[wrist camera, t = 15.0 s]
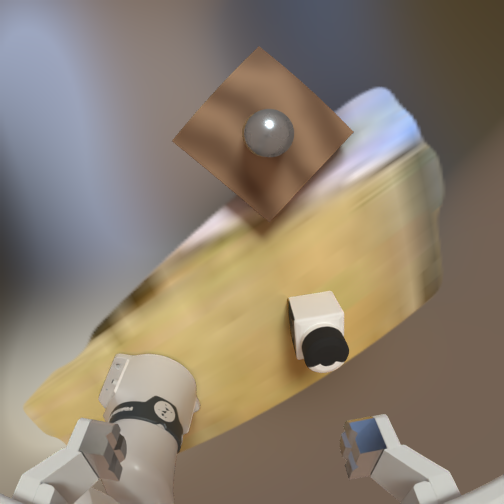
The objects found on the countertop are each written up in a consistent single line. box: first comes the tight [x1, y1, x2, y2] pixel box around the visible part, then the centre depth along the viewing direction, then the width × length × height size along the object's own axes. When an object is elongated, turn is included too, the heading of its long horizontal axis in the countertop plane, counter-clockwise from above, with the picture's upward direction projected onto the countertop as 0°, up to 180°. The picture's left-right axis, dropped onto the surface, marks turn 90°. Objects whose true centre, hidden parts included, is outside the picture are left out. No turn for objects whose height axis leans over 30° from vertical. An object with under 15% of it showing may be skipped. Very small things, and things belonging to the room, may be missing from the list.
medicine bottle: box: [288, 291, 349, 373], centre depth 45 cm, size 7×7×12 cm
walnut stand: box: [173, 47, 353, 222], centre depth 39 cm, size 16×16×4 cm
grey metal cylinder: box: [242, 109, 294, 157], centre depth 34 cm, size 5×5×7 cm
